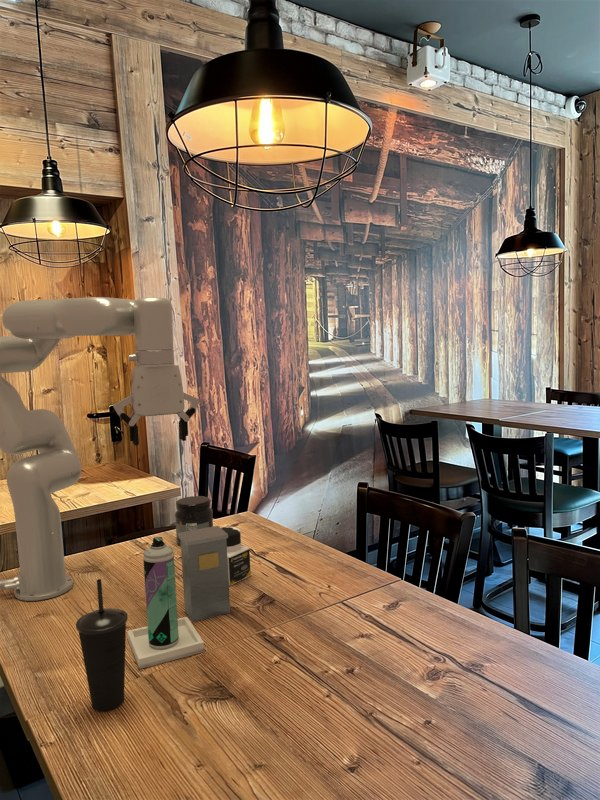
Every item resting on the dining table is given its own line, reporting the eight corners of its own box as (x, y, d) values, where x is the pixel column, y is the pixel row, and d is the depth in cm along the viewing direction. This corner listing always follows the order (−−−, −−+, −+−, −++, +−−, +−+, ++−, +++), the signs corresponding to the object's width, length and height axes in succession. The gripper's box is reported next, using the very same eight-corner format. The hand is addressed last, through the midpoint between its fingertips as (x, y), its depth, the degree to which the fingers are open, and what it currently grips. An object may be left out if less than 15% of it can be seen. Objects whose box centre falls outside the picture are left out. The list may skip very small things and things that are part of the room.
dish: (139, 669, 102) (138, 659, 102) (127, 639, 113) (127, 630, 113) (204, 651, 107) (203, 642, 107) (187, 625, 118) (187, 616, 118)
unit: (191, 623, 119) (186, 541, 117) (183, 610, 124) (178, 532, 123) (232, 613, 122) (228, 534, 121) (222, 601, 128) (218, 525, 126)
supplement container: (202, 533, 175) (200, 493, 174) (221, 541, 167) (218, 500, 165) (170, 541, 169) (167, 500, 167) (187, 551, 160) (184, 507, 159)
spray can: (158, 633, 114) (152, 532, 112) (184, 636, 112) (178, 534, 110) (143, 648, 108) (136, 542, 106) (169, 651, 107) (163, 544, 105)
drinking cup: (115, 682, 99) (106, 566, 97) (143, 698, 94) (134, 577, 92) (72, 705, 93) (62, 582, 91) (100, 724, 88) (90, 594, 86)
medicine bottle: (230, 586, 136) (227, 535, 134) (208, 580, 140) (205, 530, 139) (251, 576, 141) (249, 527, 140) (229, 570, 146) (227, 522, 144)
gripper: (113, 361, 113) (118, 449, 115) (201, 358, 121) (205, 440, 122) (108, 360, 120) (113, 443, 122) (192, 357, 127) (196, 435, 129)
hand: (159, 442), depth 122 cm, fingers open, 9 cm apart
